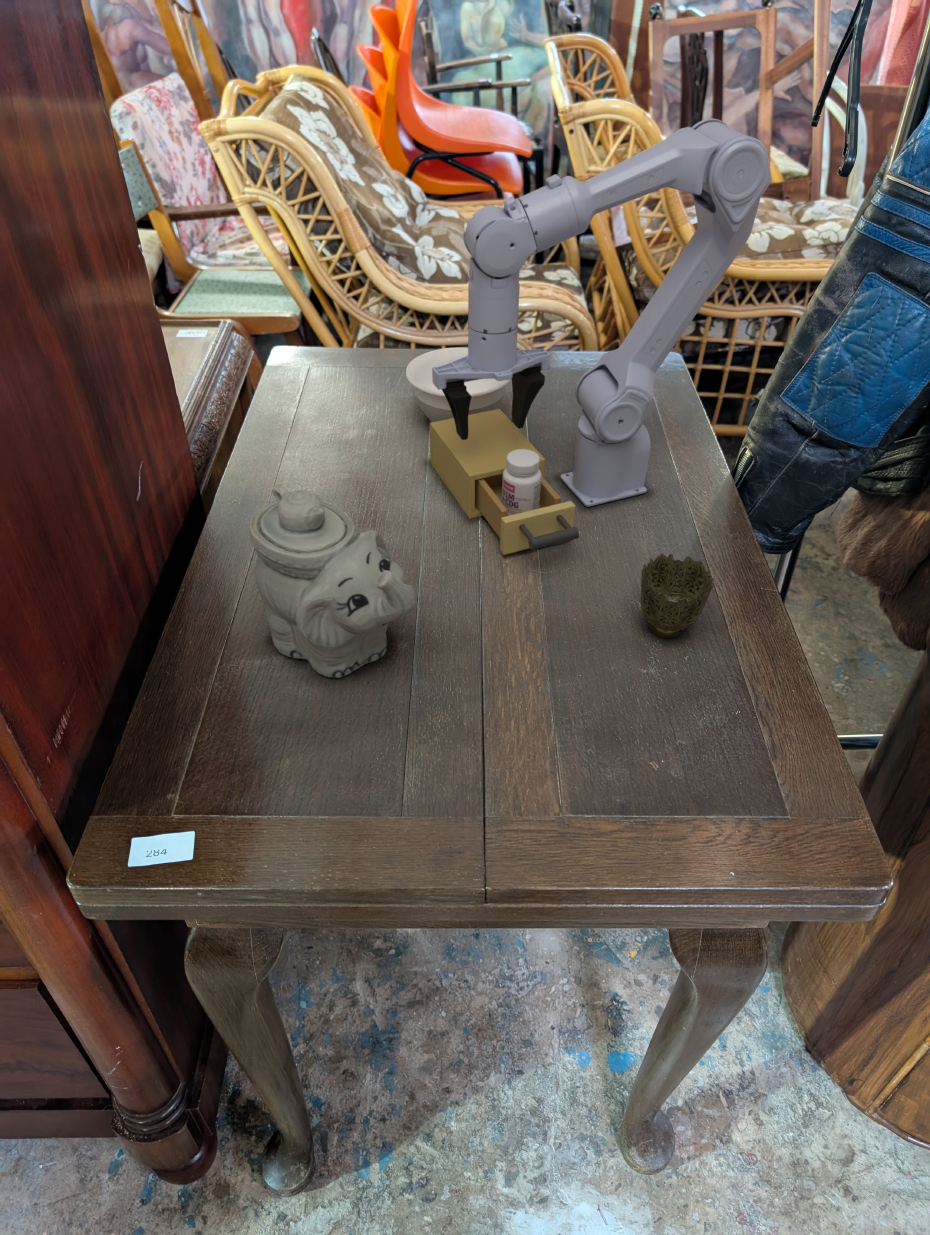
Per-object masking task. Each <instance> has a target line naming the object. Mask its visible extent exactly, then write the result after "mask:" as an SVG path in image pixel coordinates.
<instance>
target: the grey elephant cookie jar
mask: <svg viewBox="0 0 930 1235" xmlns="http://www.w3.org/2000/svg"><path fill="white" fill-rule="evenodd" d="M272 495H273V497H274V499H275V500H273V501H270V502H267V503H265V504H263V505H262V506H260V507H259V508H258V509H257V510H256V511H255V513H253V514H252V516H251V518H250V520H249V528H248V529H249V530H248V532H249V533H248V534H249V540H250V542H251V543H252V547H253V548H254V550H255V552H256V554H257V558H256V561H255V564H254V570H253V572H254V583H255V586H256V589H257V591H258V593H259V595H260V599H261V600H260V602H261V607H262V610H263V612H264V616H265V618H266V620H267V623H268V626H269V628H270V634H271V638H272V643H273V645H274V647H275V648H276V650H277V651H278V652H279V653H280V654H281V655H284V656H285V657H288V658H289V657H290V658H293V659H303V660H307V661H308V662H309V664H310V666H311V668H312V669H313V670H314V671H315V672H316V673H318V674H320V675H321V676H324V677H328V678H335V679H337V678H338V679H340V678H342V677H346V676H348V675H350V674H351V673H353V672H354V671H356V670H357V669H360V668H361V667H362V666H364V665H366V664H369V663H372V662H375V661H377V660H379V659H380V658H382V657H384V656H385V654H386V652H387V649H388V639H387V631H388V626H389V624H391V623H393V622H395V621H398V620H401V619H402V618H404V617H406V616H407V615H409V614H411V613H413V611H414V609H415V608H416V606H417V593H416V591H415V590H416V589H414V587H413V586H412V585H410V584H408V579H407V576H406V573H405V572H404V570H403V568H402V567H401V566H400V565H399V564H398V563H396V562H395V561H392V560H391V557H390V556H391V555H390V553H389V551H388V548H387V546H386V543H385V541H384V539H383V537H382V536H381V534H380V533H379V532H378V531H376V530H365V531H363V532H361V533H358V532H357V528H356V525H355V523H354V521H353V519H352V518H351V517H350V516H349V515H348V514H347V512H346V511H344V510H343V509H341V508H340V507H339V506H336V505H334V504H333V503H330V502H329V501H326V500H322V499H321V497H319V496H318V495H317V494H316V493H315V492H313V491H309V490H306V489H298V490H293V491H288V489H286V487H284V486H283V485H281V484H276V485H274V486H273V488H272Z"/></svg>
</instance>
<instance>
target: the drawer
mask: <svg viewBox="0 0 930 1235" xmlns="http://www.w3.org/2000/svg"><path fill="white" fill-rule="evenodd" d="M502 483H503V474H499V475H495V476H491V477H486V478H482V479H477V480H475V505H476V506H477V507H478V509H479V510H480V512H481V513H482V514H483V516H482V517H484V519H485V520H486V521H487V522H488V523H487V524H489V526H490V527H491V528H492V530H493V532H494V533H495V534H496V535H497V537H498V539H499V540H500V541H499V550H500V552H501V553H502V554H503V555H509V554H512V553H516V552H520V551H524V550H528V549H531V550H532V551H533V550H538V549H542V548H545V547H549V546H553V545H557V544H561V543H564V542H565V543H566V542H568V541H572V540H573V541H574V540H576V539H579V537H580V532H579V529H578V528H577V527H576V526H574V524H575V515H576V504H575V503H574V502H573V501H572V500H568V501H565V502H561V500H562V499H561V497H562V496H560V495H559V494H558V493H557V491H556V490H555V489H554V488H553V487H552V486H551V484H549V482H548V481H547V480H546V479H545V477H544V478H543V477H542V475H541V490H540V502H539V509H535V510H531V511H527V512H523V513H518V514H514V515H510V516H507V512H508V510H507V509H506V508H505V506H504V505H503V504H502Z"/></svg>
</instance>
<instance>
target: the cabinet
mask: <svg viewBox="0 0 930 1235" xmlns="http://www.w3.org/2000/svg"><path fill="white" fill-rule="evenodd" d="M429 437H430V438H429V439H430V440H429V441H430V442H429V443H430V464H431V466H432V467H433V469H434V470H435V472H436V473H437V475H438V476H439V477H440V479H441V480H442V482H443V483H444V485H445V486H446V488H447V489H448V491H449V492H450V494H452V496H453V497H454V499H455V500H456V502H457V503H458V505H459V506H460V508H461V509H462V511H463V512H464V513H465V515H466V517H467V518H468V519H469V520H472V519H476V518H480V517H484V516H483V514H482V513H481V512H480V510H479V509H478V507H477V506H476V505H475V480H477V479H482V478H486V477H491V476H495V475H499V474H503V472H504V469H505V468H506V461H507V455H508V454H509V453H510V452H512V451H514V450H518V449H527V450H531V451H534V452H535V453H537V454H538V456H539V458H540V464H539V470H540V471H541V475H542V477H543V478H544V479H545V468H546V459H545V457H544V456H543V455H542V454H541V453H540V452H539V451H538V450H537V448H536V447H535V446H534V445H533V444H532V443H531V441H529V439H528V438H527V437H526V436H525V435H524V434H523V433H522V432H521V431H520V429H519V428H518V427H517V426H516V425H515V424H514V423H513V422H512V420H510V419H509V417H508V416H507V414H505V413H504V412H503V411H502V410H501V409H500V408H498V409H496V410H491V411H486V412H481V413H476V414H471V415H468V439H466V440H462V439H461V438H460V437H459V435H458V434H457V431H456V425H455V421H454V418H451V419H446V420H441V421H436V422H432V421H430V422H429Z"/></svg>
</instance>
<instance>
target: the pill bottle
mask: <svg viewBox="0 0 930 1235" xmlns="http://www.w3.org/2000/svg"><path fill="white" fill-rule="evenodd" d="M539 464H540V458H539V456H538V454H537V453H535V452H534V451H531V450H527V449H518V450H514V451H512V452H510V453H509V454H508V455H507V461H506V468H505V469H504V472H503V483H502V504H503V505H504V506H505V508H506V509H507V510H508V512H507V516H510V515H514V514H518V513H523V512H527V511H531V510H535V509H539V502H540V490H541V471H540V470H539Z"/></svg>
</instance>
